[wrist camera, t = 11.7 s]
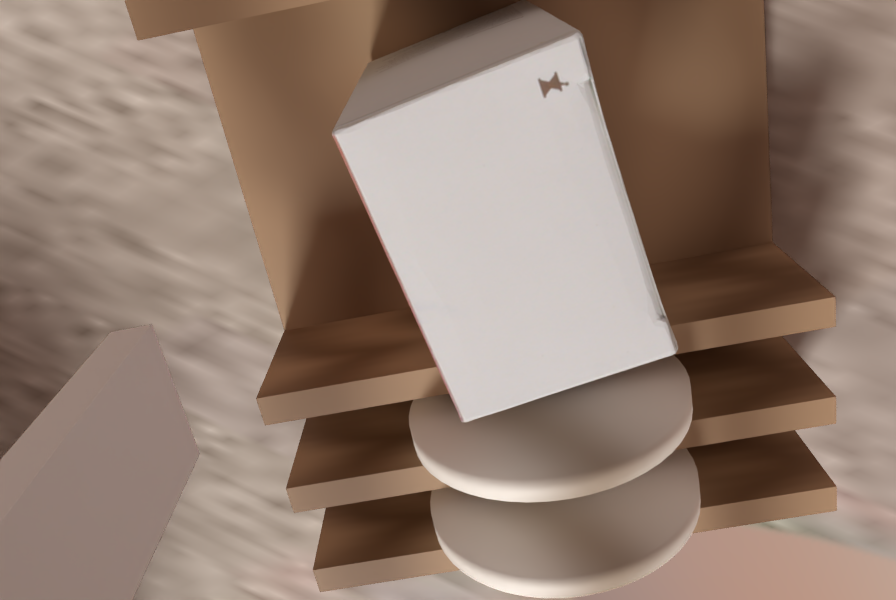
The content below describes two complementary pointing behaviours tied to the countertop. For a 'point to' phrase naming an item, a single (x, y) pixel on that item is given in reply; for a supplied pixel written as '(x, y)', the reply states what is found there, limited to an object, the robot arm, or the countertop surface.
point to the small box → (504, 209)
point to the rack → (560, 414)
